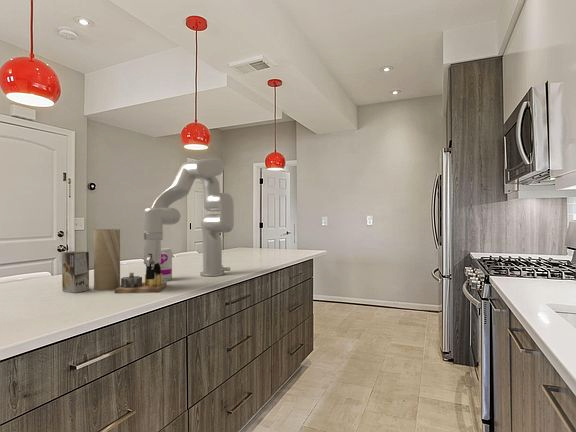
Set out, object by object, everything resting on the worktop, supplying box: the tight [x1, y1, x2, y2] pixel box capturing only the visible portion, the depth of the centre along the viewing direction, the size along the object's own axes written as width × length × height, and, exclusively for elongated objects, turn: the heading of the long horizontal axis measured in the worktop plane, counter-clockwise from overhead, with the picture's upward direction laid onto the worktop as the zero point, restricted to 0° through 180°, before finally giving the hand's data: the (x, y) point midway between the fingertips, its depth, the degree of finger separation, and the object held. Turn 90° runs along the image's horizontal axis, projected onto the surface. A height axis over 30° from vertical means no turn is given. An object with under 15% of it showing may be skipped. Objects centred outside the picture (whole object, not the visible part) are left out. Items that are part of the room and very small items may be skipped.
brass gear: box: [144, 273, 163, 287], centre depth 152 cm, size 7×7×4 cm
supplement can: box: [160, 247, 173, 282], centre depth 172 cm, size 8×8×15 cm
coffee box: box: [61, 250, 90, 294], centre depth 148 cm, size 9×6×16 cm
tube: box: [93, 228, 121, 291], centre depth 153 cm, size 10×10×25 cm
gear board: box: [113, 272, 167, 294], centre depth 151 cm, size 17×14×7 cm
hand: (153, 277), depth 152 cm, fingers open, 9 cm apart
